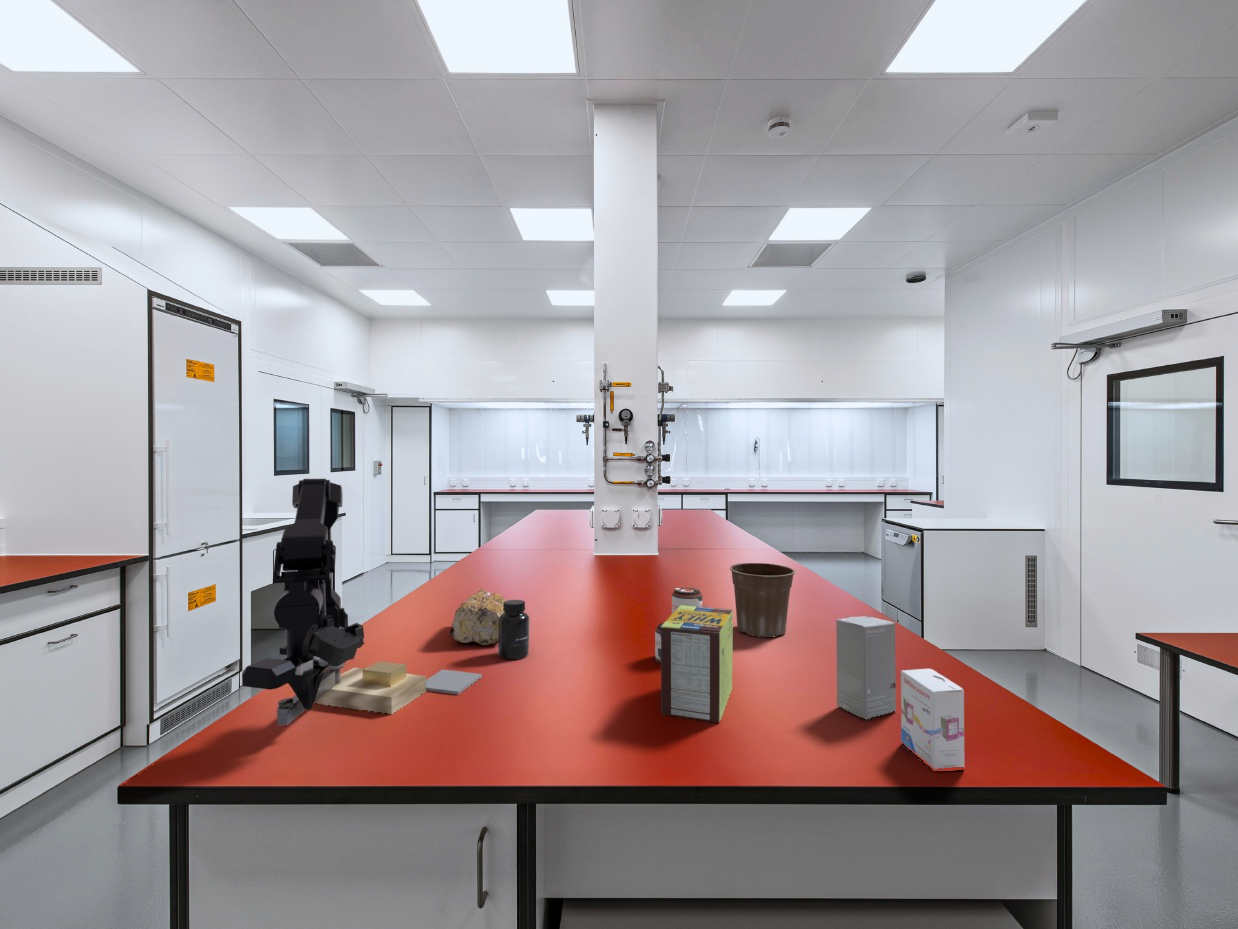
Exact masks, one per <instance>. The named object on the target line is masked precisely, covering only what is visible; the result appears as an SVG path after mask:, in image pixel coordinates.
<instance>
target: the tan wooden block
mask: <svg viewBox="0 0 1238 929" xmlns="http://www.w3.org/2000/svg"><path fill="white" fill-rule="evenodd" d="M406 674H407V664H404V663H396V662H388V661H377V662H374V663H372V664H371V665H369V666H367V667H365V668H363V683H364V684H371V685H379V686H387V687H392V686H393V685H395V684H397V683H398V682H400V681H402V680H403V679H405V678H406Z"/></svg>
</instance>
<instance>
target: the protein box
mask: <svg viewBox="0 0 1238 929" xmlns="http://www.w3.org/2000/svg"><path fill="white" fill-rule="evenodd" d="M733 613H734V612H733V609H728V608H719V607H718V608H717V607H715V608H714V607H706V606H702V607H696V606H685V605H680V606H679V607H678V609H677V610H676V611H675V612H674V613H673V614H672V613H671V614H670V616H669V617H668V618H667V619H666V620H665V621H664V622H663V623H664V624H663V625H662V626H661V663H660V706H661V707H660V715H662V714H663V716H668V717H675V716H677V717H676V718H682V717H686V718H685V719H689V718H692V719H691V720H696V719H700V720H699V721H702V720H706V721H705V722H709V721H713V722H712V723H715V722H720V723H721V721H722V717H723V715H724V713H725V709H726V707H725V706H727V704H728V702H727V701H729V699H728V698H730V696H731V694H730V693H732V691H731V690H733V650H734V649H733V642H734V640H733V638H734V637H733V635H734V634H733V624H734V623H733V620H734V619H733V616H734V615H733ZM729 695H730V696H729ZM720 720H721V721H720Z"/></svg>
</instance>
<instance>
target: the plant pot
mask: <svg viewBox="0 0 1238 929" xmlns="http://www.w3.org/2000/svg"><path fill="white" fill-rule="evenodd" d="M729 569H730V572H731V579H732V585H733V587H734V588H733V589H734V599H735V603H734V604H735V613H736V629H737V631H738V632H740V633H741V632H742V633H741V634H747V635H748V636H749V635H753V636H752V637H754V636H760V637H773V636H777V637H779V636H781V635H782V634H784V633H785V632H787V622H788V612H789V600H790V593H791V588H792V586H793V580H794V579H793V578H794V575H795V574H796V571H795V569H793V568H792V567H790V566H786V565H780V564H775V563H768V562H767V563H765V562H743V563H736V564H732V565H730V567H729ZM785 634H786V633H785ZM785 634H784V635H785ZM782 636H783V635H782Z"/></svg>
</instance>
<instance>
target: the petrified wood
mask: <svg viewBox="0 0 1238 929" xmlns="http://www.w3.org/2000/svg"><path fill="white" fill-rule="evenodd" d="M505 601H507V600H506V599H505V597H504V596H503V595H501V594H498V593H496V592H494V593H491V592H489V591H488V592H487V591H486V589H484V588H482V589H480V590H478V591H477V592H475V593H473V594H472V595H471V596H470V597H468V598H467V599H465V600H464V601H463V602H462V603H460V605H459V607H458V608H457V609H456V610H455V612H454V616H453V621H452V623H451V628H450V629H449V630H450V631H449V634H448V638H450V637H451V636H453V639H454V641H456V642H460V643H465V644H466V643H470V642H474V643H477V644H480V645H481V646H488V645H491V644H495V643H496V642H498V627H499V617H500V615H501V614H503V613H504V611H503V603H504V602H505Z"/></svg>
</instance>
